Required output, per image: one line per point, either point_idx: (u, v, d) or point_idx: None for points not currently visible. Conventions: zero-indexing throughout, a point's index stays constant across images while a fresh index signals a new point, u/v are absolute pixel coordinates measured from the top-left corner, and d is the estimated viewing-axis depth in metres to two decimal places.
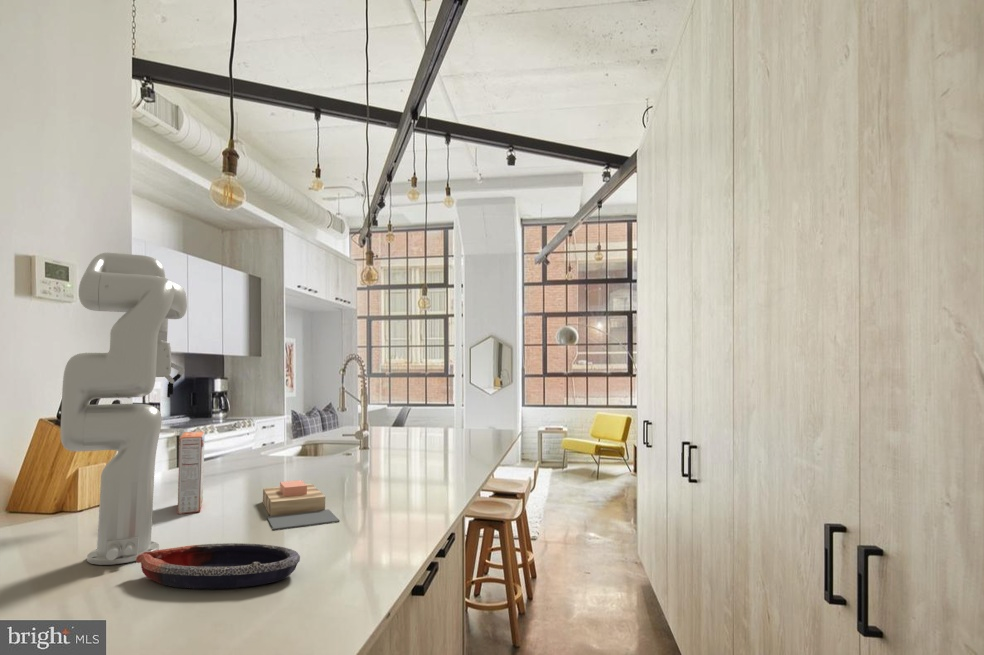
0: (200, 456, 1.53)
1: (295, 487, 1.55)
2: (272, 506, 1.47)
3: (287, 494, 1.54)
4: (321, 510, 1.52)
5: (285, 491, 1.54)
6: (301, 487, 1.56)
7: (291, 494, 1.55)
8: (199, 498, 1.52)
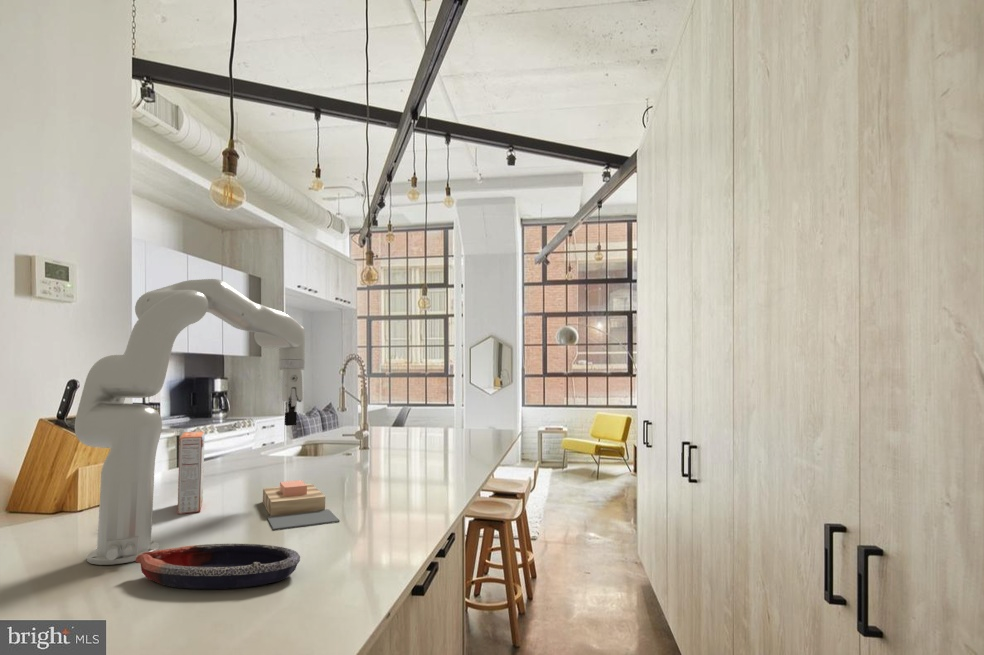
0: (200, 456, 1.53)
1: (295, 487, 1.55)
2: (272, 506, 1.47)
3: (287, 494, 1.54)
4: (321, 510, 1.52)
5: (285, 491, 1.54)
6: (301, 487, 1.56)
7: (291, 494, 1.55)
8: (199, 498, 1.52)
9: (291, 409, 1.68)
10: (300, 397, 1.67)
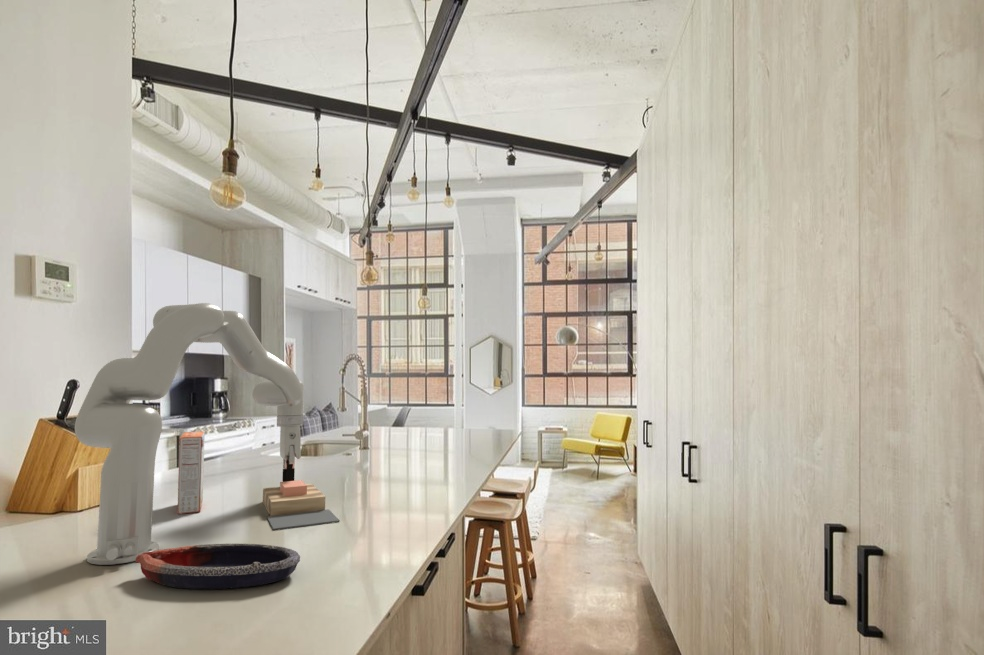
0: (200, 456, 1.53)
1: (295, 487, 1.55)
2: (272, 506, 1.47)
3: (287, 494, 1.54)
4: (321, 510, 1.52)
5: (285, 491, 1.54)
6: (301, 487, 1.56)
7: (291, 494, 1.55)
8: (199, 498, 1.52)
9: (289, 466, 1.66)
10: (298, 454, 1.65)
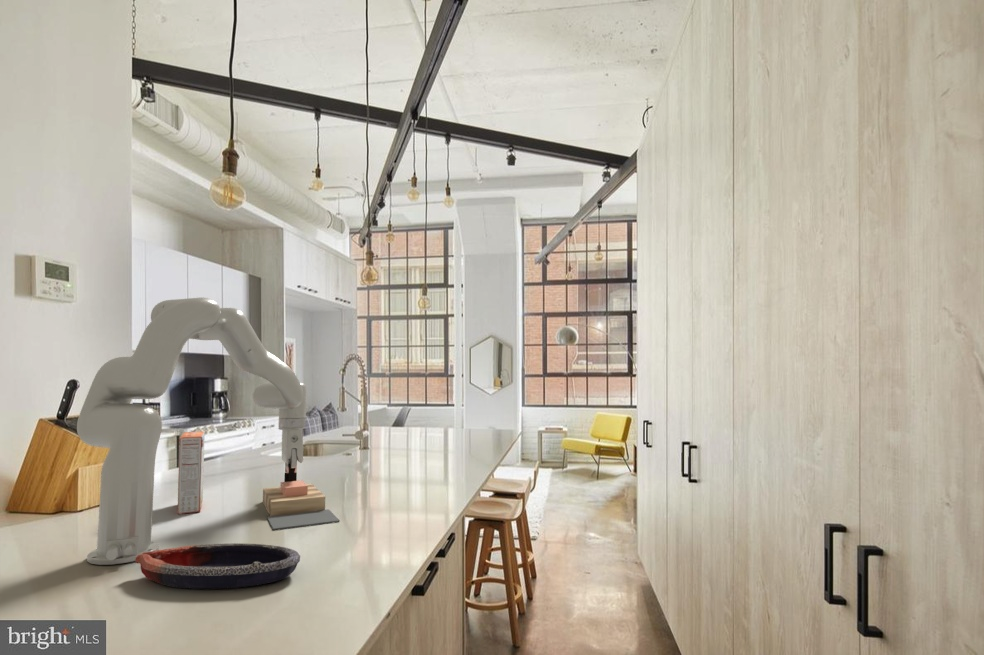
0: (200, 456, 1.53)
1: (296, 487, 1.55)
2: (272, 506, 1.47)
3: (288, 494, 1.54)
4: (321, 510, 1.52)
5: (286, 491, 1.53)
6: (302, 487, 1.55)
7: (292, 494, 1.54)
8: (199, 498, 1.52)
9: (291, 470, 1.62)
10: (301, 458, 1.61)
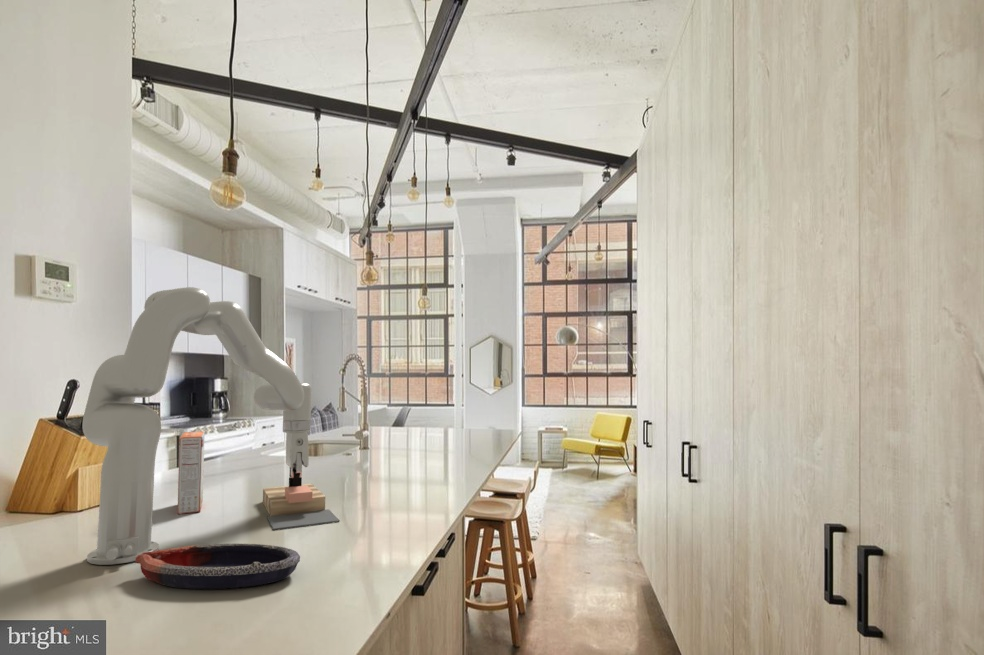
0: (200, 456, 1.53)
1: (300, 493, 1.47)
2: (272, 506, 1.47)
3: (291, 501, 1.46)
4: (321, 510, 1.52)
5: (289, 498, 1.46)
6: (306, 493, 1.48)
7: (296, 501, 1.46)
8: (199, 498, 1.52)
9: (296, 475, 1.55)
10: (306, 462, 1.54)
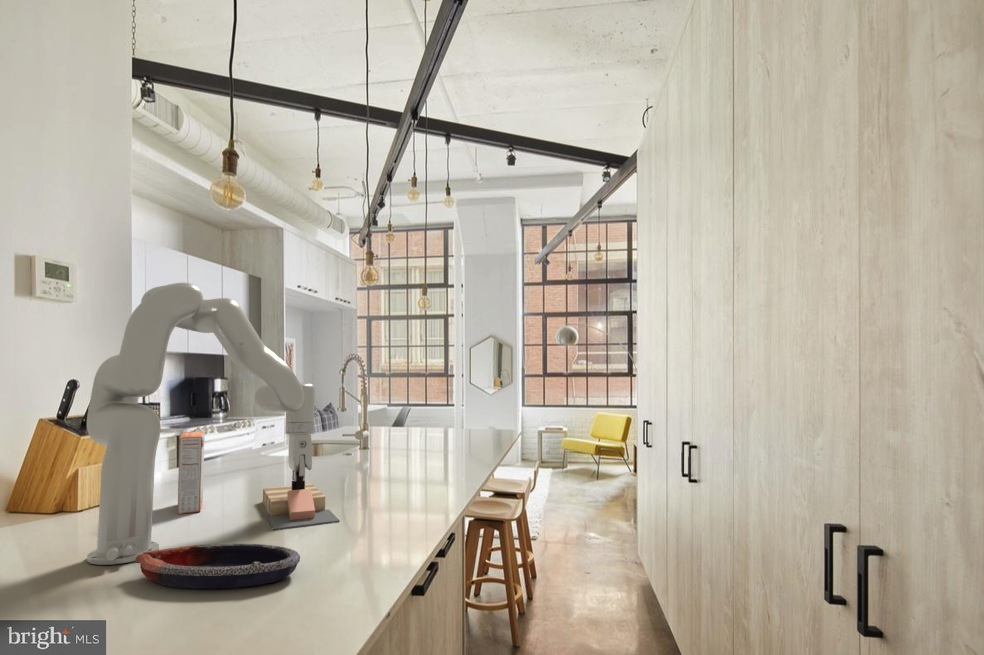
0: (200, 456, 1.53)
1: (302, 512, 1.43)
2: (272, 506, 1.47)
3: (293, 518, 1.42)
4: (321, 510, 1.52)
5: (291, 515, 1.42)
6: (309, 512, 1.43)
7: (297, 518, 1.43)
8: (199, 498, 1.52)
9: (299, 478, 1.50)
10: (310, 465, 1.49)
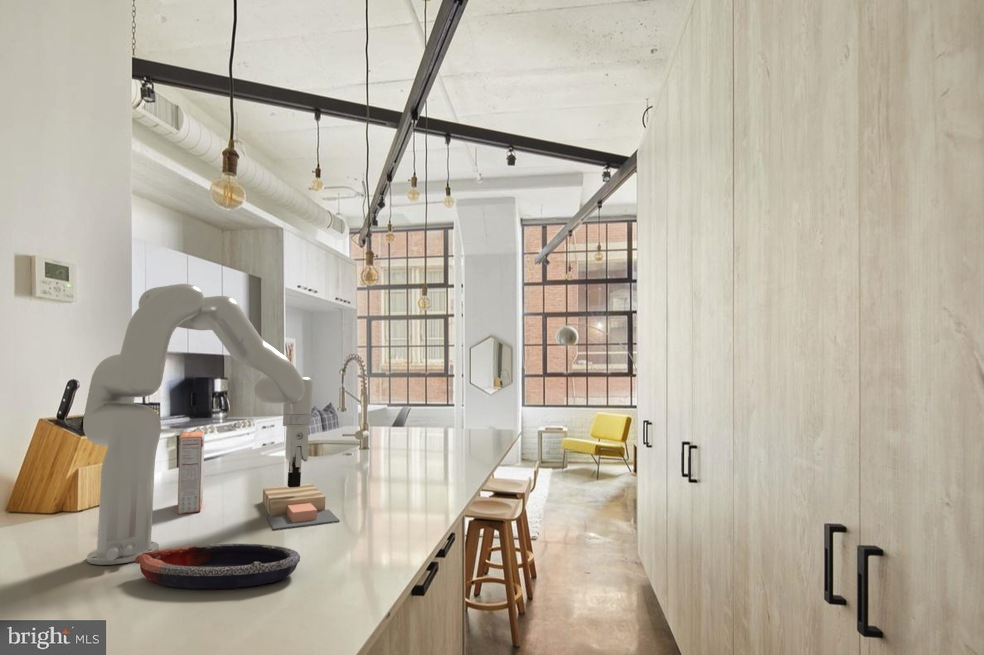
0: (200, 456, 1.53)
1: (304, 512, 1.42)
2: (272, 506, 1.47)
3: (295, 520, 1.41)
4: (321, 510, 1.52)
5: (293, 516, 1.41)
6: (310, 512, 1.43)
7: (300, 519, 1.41)
8: (199, 498, 1.52)
9: (295, 469, 1.53)
10: (306, 457, 1.53)
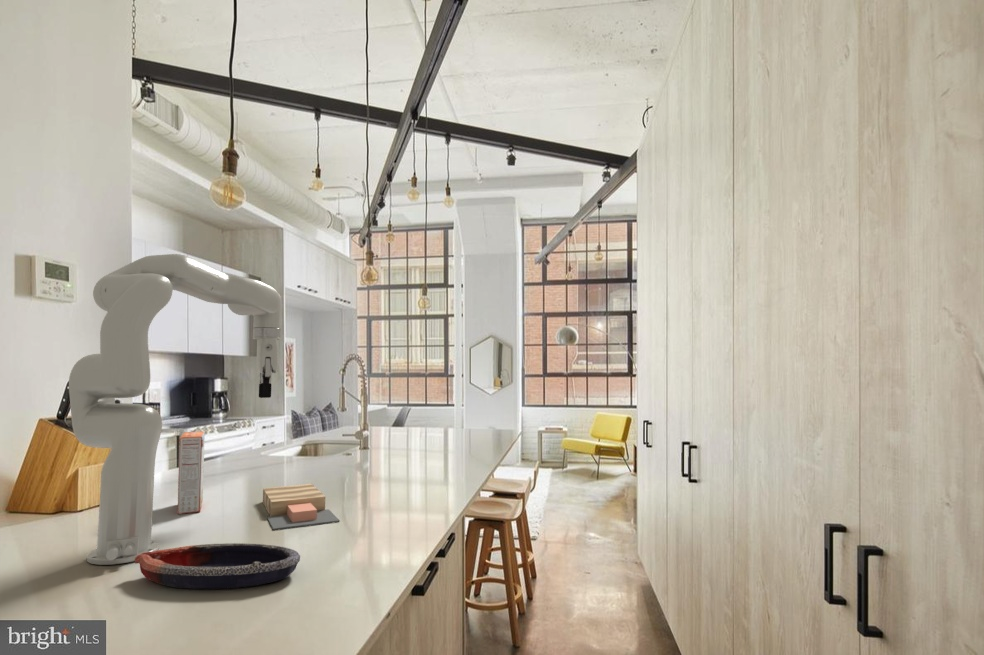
0: (200, 456, 1.53)
1: (304, 512, 1.42)
2: (272, 506, 1.47)
3: (295, 520, 1.41)
4: (321, 510, 1.52)
5: (293, 516, 1.41)
6: (310, 512, 1.43)
7: (300, 519, 1.41)
8: (199, 498, 1.52)
9: (265, 380, 1.59)
10: (275, 367, 1.58)
